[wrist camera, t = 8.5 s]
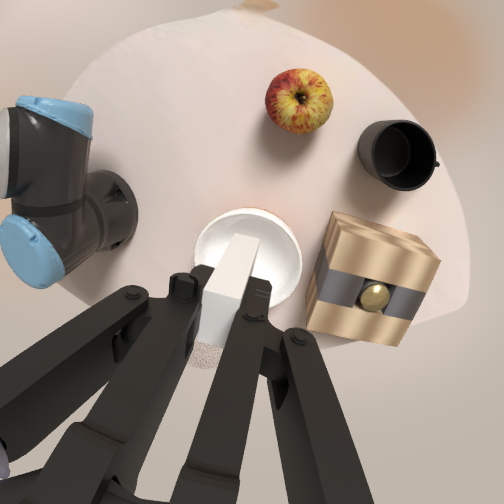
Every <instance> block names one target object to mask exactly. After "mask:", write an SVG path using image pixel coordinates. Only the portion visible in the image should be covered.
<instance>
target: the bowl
mask: <svg viewBox="0 0 504 504" xmlns="http://www.w3.org/2000/svg"><path fill="white" fill-rule="evenodd" d="M235 233H238V234H242V235H246V236H251V237H255V238H259V239H260V243H259V247H258V252H257V256H256V260H255V264H254V268H253V273H252V276H253V277H257V278H261V279H265V280H269V281H270V283H271V285H272V292H271V298H270V304H269V308H271V307H273V306H275V305H277V304H279V303H281V302H282V301H284V300H285V299H286V298H288V297H289V296H290V294H291V293H292V292H293V291H294V290H295V288H296V286H297V284H298V283H299V280H300V277H301V274H302V263H303V262H302V255H301V251H300V248H299V245H298V243H297V240H296V237H295V235H294V234H293V232H292V230H291V229H290V227H289V226H288V225H287V224H286V223H285V222H284V221H283V220H282V219H281V218H280V217H278V216H277V215H275V214H274V213H272V212H269V211H267V210H265V209H260V208H256V207H244V208H238V209H235V210H232V211H229V212H227V213H225V214H223V215H221V216H219V217H218V218H216V219H215V220H213V221H212V222H210V223H209V224H208V225H207V226H206V227H205V228H204V229H203V231H202V232H201V234H200V236H199V237H198V240H197V242H196V245H195V250H194V265H195V267H196V266H198V265H200V264H203V265H207V266H210V267H214V268H216V266H217V264H218V262H219V261H220V259H221V257H222V255H223V254H224V252H225V250H226V248H227V247H228V245H229V243H230V241H231V239H232V238H233V236H234V234H235Z"/></svg>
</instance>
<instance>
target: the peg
mask: <svg viewBox="0 0 504 504" xmlns="http://www.w3.org/2000/svg"><path fill="white" fill-rule="evenodd" d="M358 295H359V298H360V301H361V304H362V306H363V308H364V309H366V310H367V311H371V312H375V311H379V310H381V309H383V308H384V307H385V306H386V305H387V304H388V302H389V299H390V293H389V291H388V289H387V287H386V285H385V283H384V282H381V281H377V280H373V279H369V278H365V280H364V282H363V285H362V287H361V289H360V292H359V294H358Z"/></svg>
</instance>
